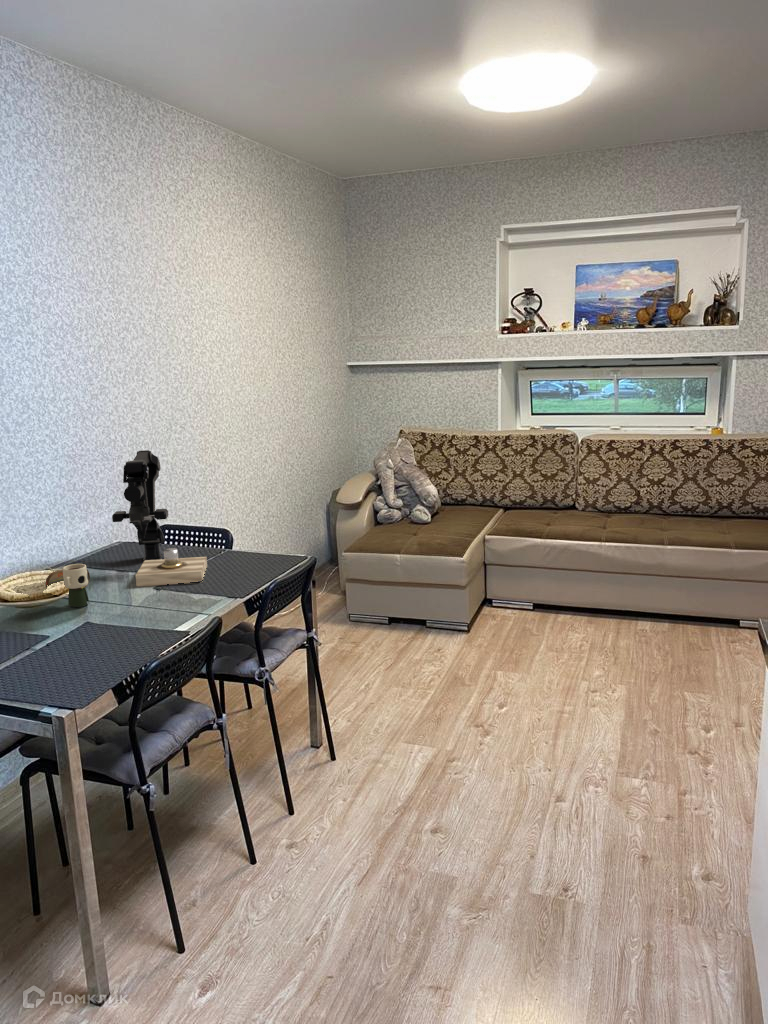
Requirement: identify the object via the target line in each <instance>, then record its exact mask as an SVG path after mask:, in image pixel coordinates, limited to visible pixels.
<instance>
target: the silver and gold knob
mask: <svg viewBox="0 0 768 1024" xmlns="http://www.w3.org/2000/svg"><path fill="white" fill-rule="evenodd" d="M163 558H164V561H165V562H164V563H162V568H165V569H173V568H178V567H180V566H182V562H181V561H179V559H178V558H179V551H178V548H177V547H170V548H168V547H167V548H164V549H163Z"/></svg>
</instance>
